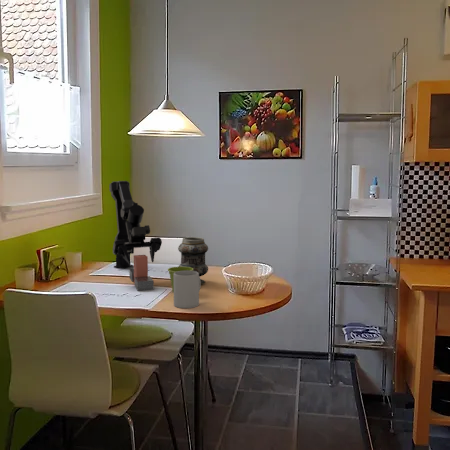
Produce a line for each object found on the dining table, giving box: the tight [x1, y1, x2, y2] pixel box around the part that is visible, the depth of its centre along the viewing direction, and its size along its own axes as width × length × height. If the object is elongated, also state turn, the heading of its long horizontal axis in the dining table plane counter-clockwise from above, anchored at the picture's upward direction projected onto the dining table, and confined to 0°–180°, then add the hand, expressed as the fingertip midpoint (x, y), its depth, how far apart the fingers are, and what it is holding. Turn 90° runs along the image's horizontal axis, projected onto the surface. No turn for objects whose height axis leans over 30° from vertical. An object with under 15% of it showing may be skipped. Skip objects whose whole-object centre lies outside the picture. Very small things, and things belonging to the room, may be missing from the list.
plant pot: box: [167, 266, 193, 294], centre depth 192 cm, size 9×9×9 cm
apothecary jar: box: [177, 236, 209, 286], centre depth 205 cm, size 12×12×18 cm
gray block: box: [128, 268, 154, 292], centre depth 205 cm, size 23×6×4 cm, turn 18°
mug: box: [173, 271, 202, 309], centre depth 176 cm, size 12×8×11 cm
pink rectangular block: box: [133, 254, 149, 284], centre depth 205 cm, size 4×4×11 cm
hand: (141, 262), depth 203 cm, fingers open, 9 cm apart
